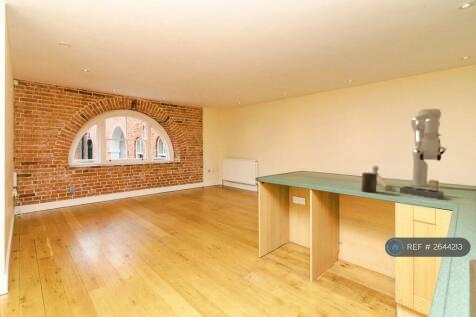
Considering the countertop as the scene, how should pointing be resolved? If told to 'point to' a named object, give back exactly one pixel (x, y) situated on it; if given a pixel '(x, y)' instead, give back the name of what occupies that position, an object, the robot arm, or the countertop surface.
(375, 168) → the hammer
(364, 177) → the pillar candle
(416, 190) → the rail
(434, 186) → the peg
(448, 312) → the countertop surface
